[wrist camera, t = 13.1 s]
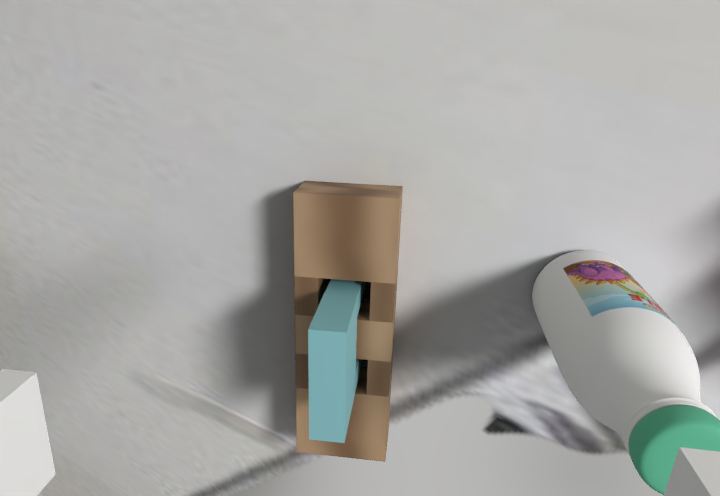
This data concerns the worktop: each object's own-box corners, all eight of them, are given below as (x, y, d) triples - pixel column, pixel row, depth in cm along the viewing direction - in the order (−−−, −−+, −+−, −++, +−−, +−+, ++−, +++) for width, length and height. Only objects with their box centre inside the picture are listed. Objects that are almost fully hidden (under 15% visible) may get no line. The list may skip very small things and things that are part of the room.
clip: (334, 359, 49) (309, 439, 39) (334, 268, 46) (308, 329, 36) (362, 361, 49) (344, 443, 38) (364, 270, 46) (346, 332, 35)
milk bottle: (580, 349, 46) (686, 551, 27) (510, 297, 45) (570, 469, 26) (649, 284, 43) (819, 459, 24) (576, 228, 42) (694, 365, 24)
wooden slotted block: (306, 423, 52) (296, 451, 48) (304, 180, 44) (293, 192, 40) (388, 431, 51) (385, 461, 47) (402, 186, 43) (400, 198, 39)
